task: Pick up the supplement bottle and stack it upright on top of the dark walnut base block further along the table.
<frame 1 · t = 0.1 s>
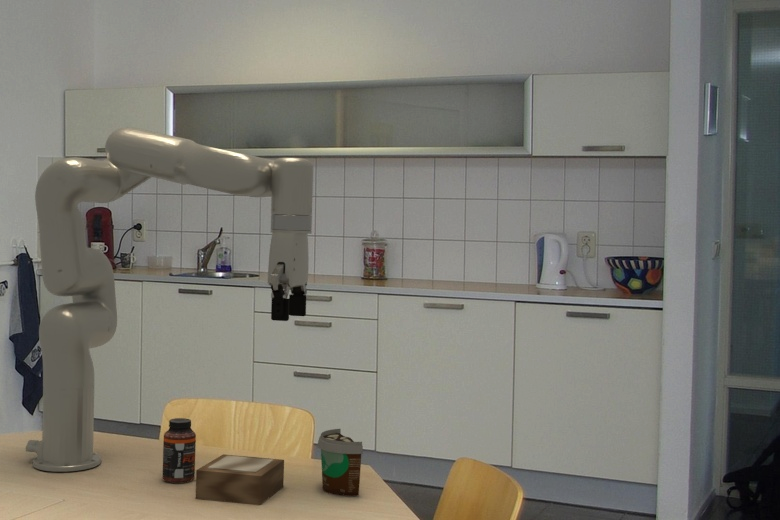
hand: (288, 318, 173), 31 cm above the table, fingers open, 9 cm apart
walnut base: (240, 492, 168), on the table
food container: (333, 491, 172), on the table
supplement bottle: (178, 480, 175), on the table
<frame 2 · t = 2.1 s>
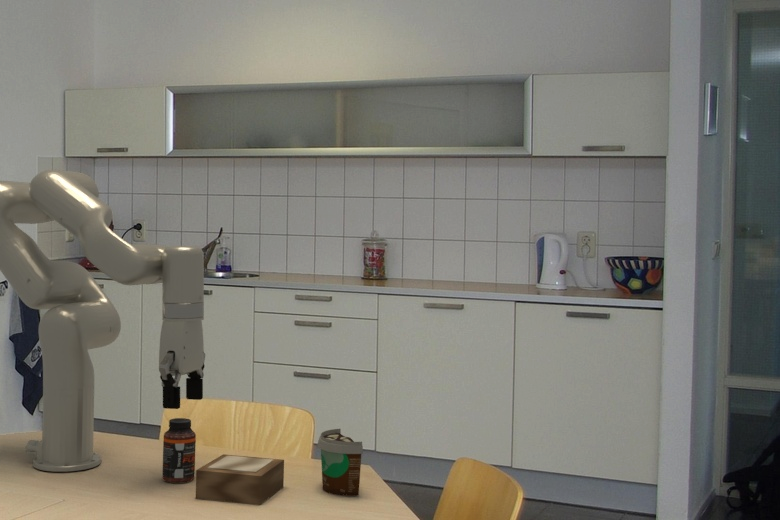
hand: (183, 403, 174), 14 cm above the table, fingers open, 9 cm apart
nothing on the table moved.
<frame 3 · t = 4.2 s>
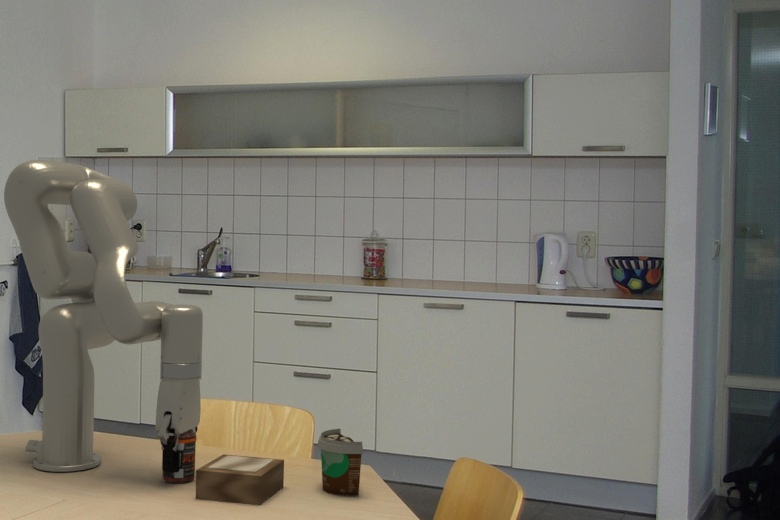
hand: (178, 466, 175), 3 cm above the table, fingers closed on supplement bottle, 6 cm apart
supplement bottle: (178, 480, 175), on the table, touching gripper
everything else where it was.
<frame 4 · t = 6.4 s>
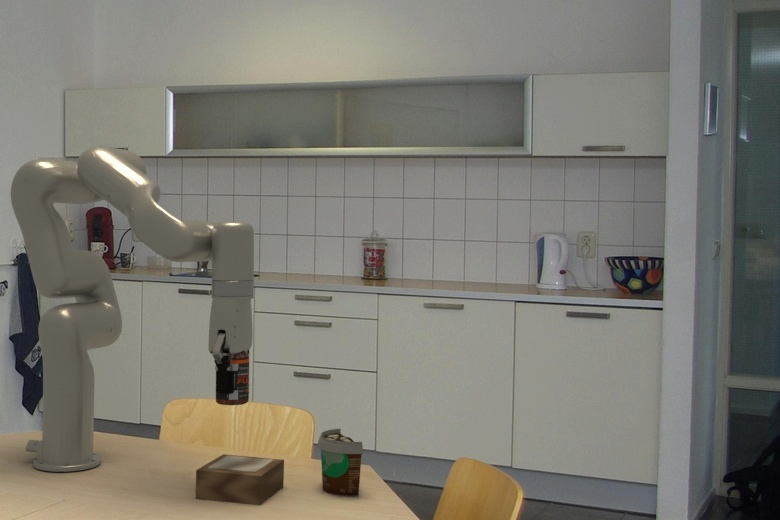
hand: (232, 389, 169), 18 cm above the table, fingers closed on supplement bottle, 6 cm apart
supplement bottle: (232, 404, 169), point 16 cm above the table, touching gripper
everything else where it was.
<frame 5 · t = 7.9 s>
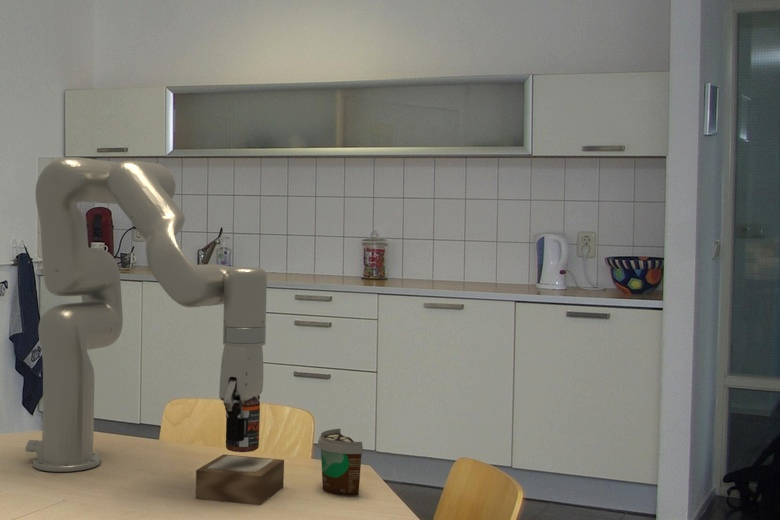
hand: (242, 435, 168), 10 cm above the table, fingers closed on supplement bottle, 6 cm apart
supplement bottle: (242, 450, 168), point 8 cm above the table, touching gripper
everything else where it was.
when the fingers open (8 cm above the table, at t = 9.1 s): supplement bottle stays where it is, resting on walnut base.
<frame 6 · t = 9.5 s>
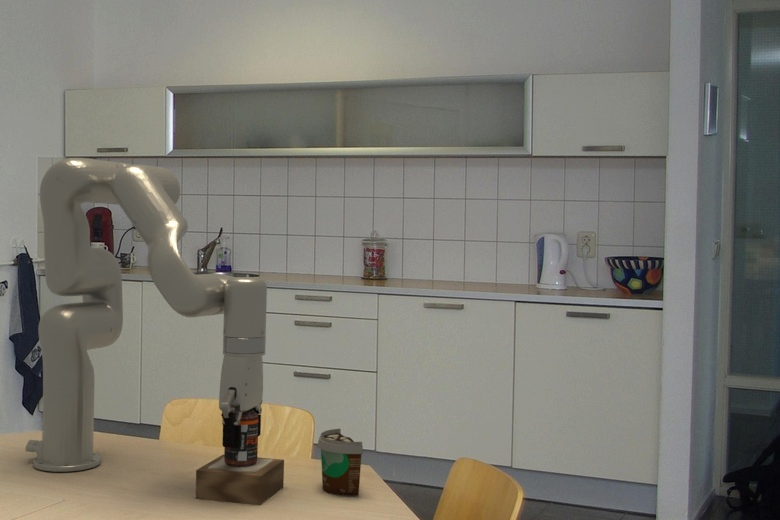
hand: (241, 441, 168), 9 cm above the table, fingers open, 9 cm apart
supplement bottle: (240, 464, 168), point 5 cm above the table, touching walnut base
everything else where it was.
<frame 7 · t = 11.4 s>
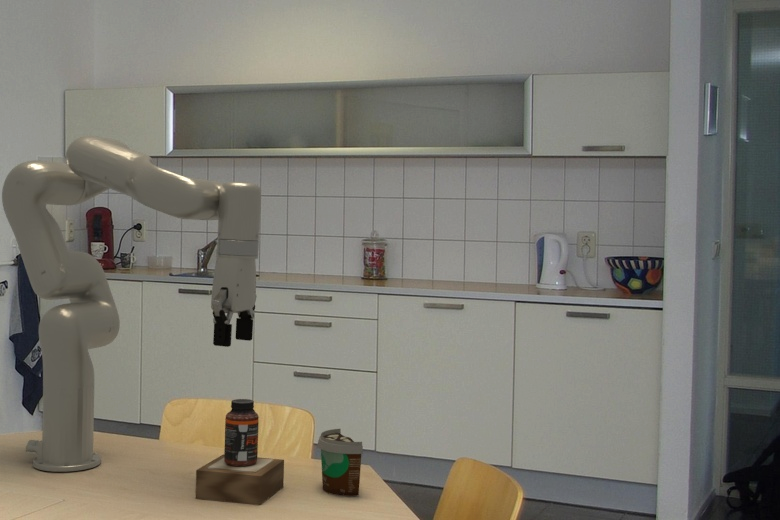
hand: (233, 342, 172), 26 cm above the table, fingers open, 9 cm apart
nothing on the table moved.
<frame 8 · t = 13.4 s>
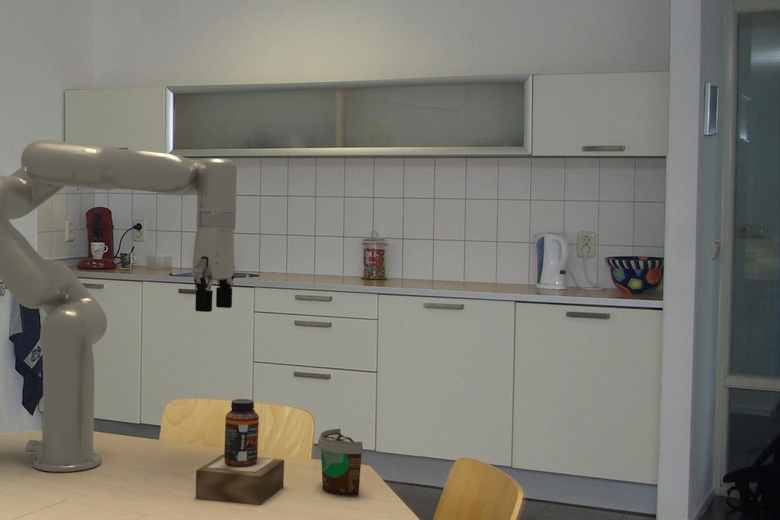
hand: (214, 309, 183), 31 cm above the table, fingers open, 9 cm apart
nothing on the table moved.
at the end: supplement bottle inside the target area on the walnut base (0.2 cm from its centre), point 5.0 cm above the walnut base's base; supplement bottle tilted 0°; the gripper is holding nothing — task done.
